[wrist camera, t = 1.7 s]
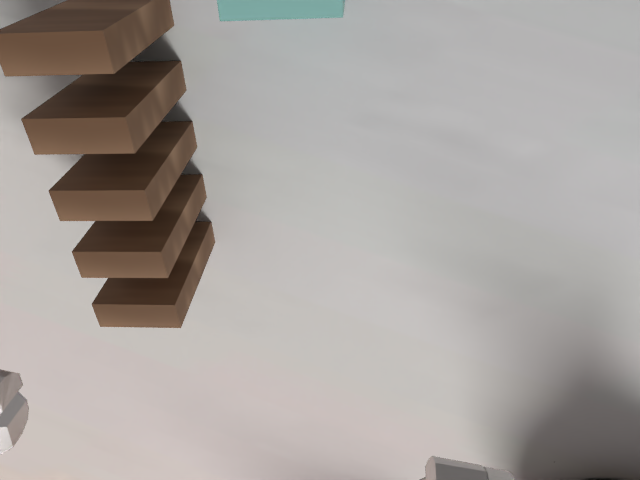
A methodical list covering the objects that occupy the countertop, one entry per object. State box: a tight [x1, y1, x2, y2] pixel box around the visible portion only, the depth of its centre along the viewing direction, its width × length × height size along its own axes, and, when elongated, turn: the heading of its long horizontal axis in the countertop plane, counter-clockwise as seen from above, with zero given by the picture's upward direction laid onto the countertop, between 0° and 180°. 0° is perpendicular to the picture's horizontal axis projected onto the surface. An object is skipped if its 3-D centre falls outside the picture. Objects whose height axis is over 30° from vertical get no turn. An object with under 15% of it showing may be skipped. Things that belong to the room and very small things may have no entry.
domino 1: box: [0, 0, 174, 76], centre depth 26 cm, size 2×5×9 cm, turn 92°
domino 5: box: [92, 222, 215, 328], centre depth 35 cm, size 2×5×9 cm, turn 93°
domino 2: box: [21, 61, 186, 155], centre depth 29 cm, size 2×5×9 cm, turn 93°
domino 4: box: [72, 174, 207, 278], centre depth 33 cm, size 2×5×9 cm, turn 93°
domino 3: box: [49, 121, 197, 221], centre depth 31 cm, size 2×5×9 cm, turn 93°
